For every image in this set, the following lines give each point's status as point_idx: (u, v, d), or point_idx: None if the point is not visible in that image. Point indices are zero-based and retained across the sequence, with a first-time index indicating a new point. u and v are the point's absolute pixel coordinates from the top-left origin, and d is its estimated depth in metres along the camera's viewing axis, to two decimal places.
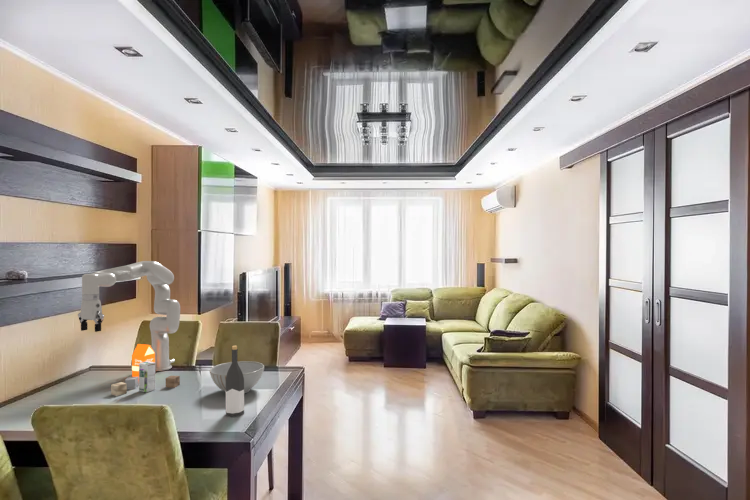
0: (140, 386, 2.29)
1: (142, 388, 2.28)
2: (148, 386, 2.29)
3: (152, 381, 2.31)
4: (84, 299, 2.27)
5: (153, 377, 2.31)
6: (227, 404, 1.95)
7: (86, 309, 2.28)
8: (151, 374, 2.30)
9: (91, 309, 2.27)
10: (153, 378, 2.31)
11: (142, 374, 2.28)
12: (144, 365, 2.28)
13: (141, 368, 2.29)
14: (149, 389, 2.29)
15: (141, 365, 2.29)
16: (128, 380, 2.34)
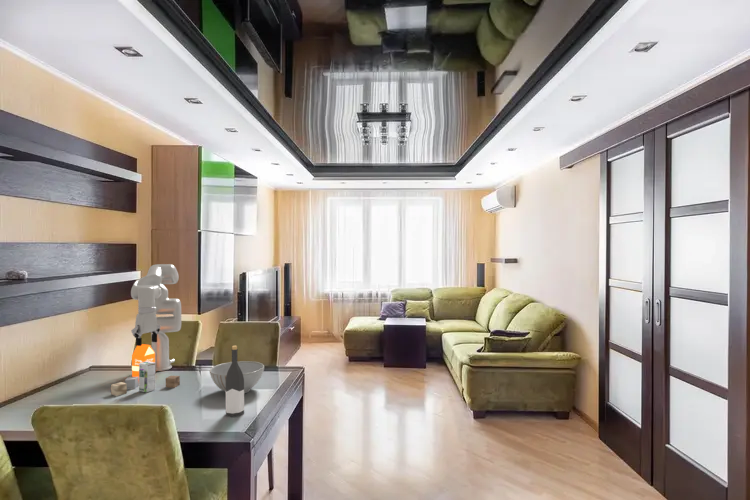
0: (140, 386, 2.29)
1: (142, 388, 2.28)
2: (148, 386, 2.29)
3: (152, 381, 2.31)
4: (152, 311, 2.30)
5: (153, 377, 2.31)
6: (227, 404, 1.95)
7: (150, 322, 2.30)
8: (151, 374, 2.30)
9: (155, 320, 2.33)
10: (153, 378, 2.31)
11: (142, 374, 2.28)
12: (144, 365, 2.28)
13: (141, 368, 2.29)
14: (149, 389, 2.29)
15: (141, 365, 2.29)
16: (128, 380, 2.34)
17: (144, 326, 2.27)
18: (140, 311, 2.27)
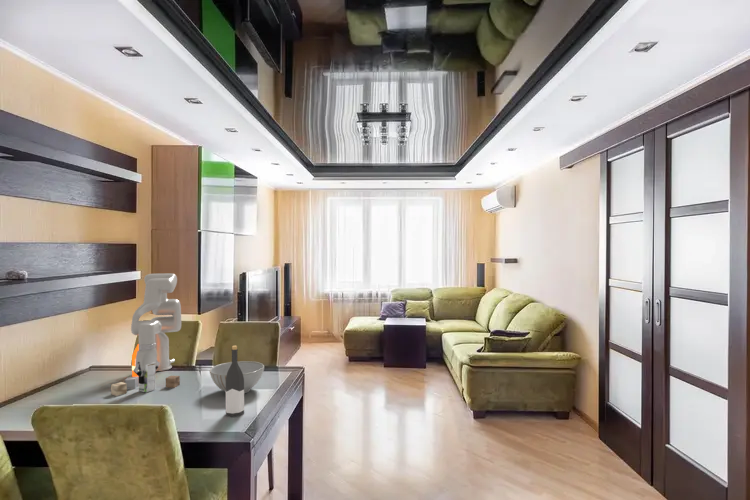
0: (140, 386, 2.29)
1: (142, 388, 2.28)
2: (148, 386, 2.29)
3: (152, 381, 2.31)
4: (152, 348, 2.30)
5: (153, 377, 2.31)
6: (227, 404, 1.95)
7: (150, 358, 2.30)
8: (151, 374, 2.30)
9: (155, 356, 2.33)
10: (153, 378, 2.31)
11: None
12: None
13: None
14: (149, 389, 2.29)
15: None
16: (128, 380, 2.34)
17: (144, 363, 2.27)
18: (140, 348, 2.27)
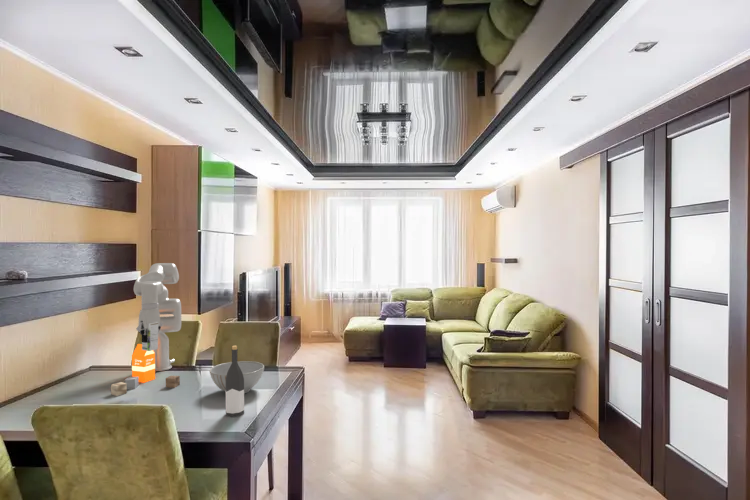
0: (143, 345, 2.31)
1: (145, 346, 2.30)
2: (151, 345, 2.31)
3: (155, 340, 2.33)
4: (155, 307, 2.32)
5: (156, 336, 2.33)
6: (227, 404, 1.95)
7: (153, 317, 2.32)
8: (153, 333, 2.32)
9: (158, 316, 2.35)
10: (156, 337, 2.33)
11: None
12: None
13: None
14: (152, 348, 2.31)
15: None
16: (128, 380, 2.34)
17: (147, 322, 2.29)
18: (143, 307, 2.29)
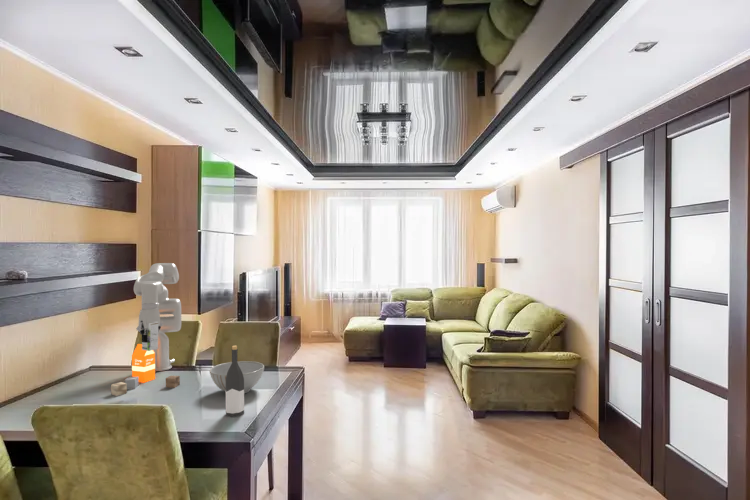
0: (143, 345, 2.31)
1: (145, 346, 2.30)
2: (151, 345, 2.31)
3: (155, 340, 2.33)
4: (155, 307, 2.32)
5: (156, 336, 2.33)
6: (227, 404, 1.95)
7: (153, 317, 2.32)
8: (153, 333, 2.32)
9: (158, 316, 2.35)
10: (156, 337, 2.33)
11: None
12: None
13: None
14: (152, 348, 2.31)
15: None
16: (128, 380, 2.34)
17: (147, 322, 2.29)
18: (143, 307, 2.29)
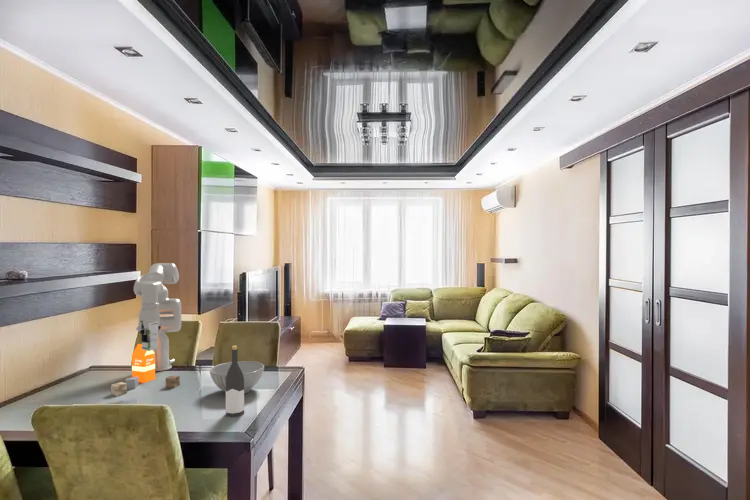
0: (143, 345, 2.31)
1: (145, 346, 2.30)
2: (151, 345, 2.31)
3: (155, 340, 2.33)
4: (155, 307, 2.32)
5: (156, 336, 2.33)
6: (227, 404, 1.95)
7: (153, 317, 2.32)
8: (153, 333, 2.32)
9: (158, 316, 2.35)
10: (156, 337, 2.33)
11: None
12: None
13: None
14: (152, 348, 2.31)
15: None
16: (128, 380, 2.34)
17: (147, 322, 2.29)
18: (143, 307, 2.29)
